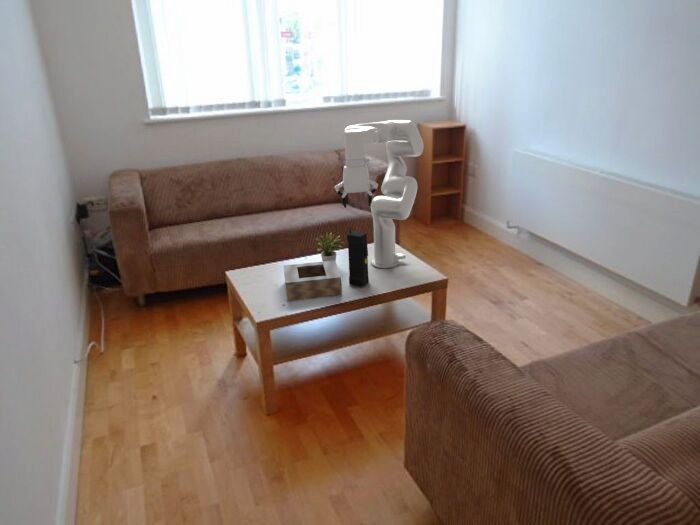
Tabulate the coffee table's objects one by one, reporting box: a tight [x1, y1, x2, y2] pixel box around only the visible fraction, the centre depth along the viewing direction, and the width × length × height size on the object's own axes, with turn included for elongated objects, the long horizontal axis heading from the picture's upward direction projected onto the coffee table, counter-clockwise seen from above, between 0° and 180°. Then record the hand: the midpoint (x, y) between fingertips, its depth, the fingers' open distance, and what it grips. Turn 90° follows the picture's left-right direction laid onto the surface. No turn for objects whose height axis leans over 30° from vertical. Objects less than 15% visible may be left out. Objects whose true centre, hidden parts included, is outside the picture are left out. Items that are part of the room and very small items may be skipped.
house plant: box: [314, 231, 346, 263], centre depth 233 cm, size 14×14×16 cm
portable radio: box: [346, 226, 370, 288], centre depth 214 cm, size 8×6×25 cm
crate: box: [283, 260, 343, 302], centre depth 214 cm, size 22×18×8 cm
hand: (357, 205), depth 205 cm, fingers open, 9 cm apart
